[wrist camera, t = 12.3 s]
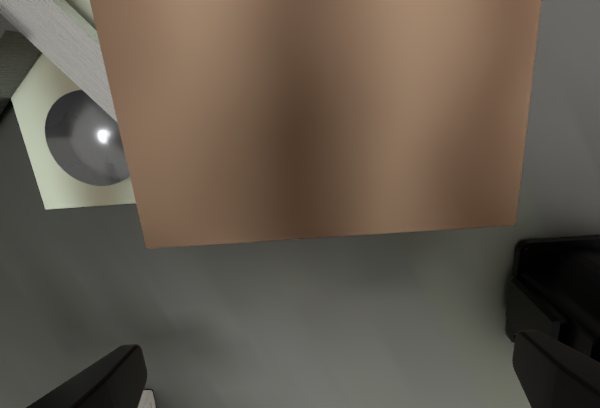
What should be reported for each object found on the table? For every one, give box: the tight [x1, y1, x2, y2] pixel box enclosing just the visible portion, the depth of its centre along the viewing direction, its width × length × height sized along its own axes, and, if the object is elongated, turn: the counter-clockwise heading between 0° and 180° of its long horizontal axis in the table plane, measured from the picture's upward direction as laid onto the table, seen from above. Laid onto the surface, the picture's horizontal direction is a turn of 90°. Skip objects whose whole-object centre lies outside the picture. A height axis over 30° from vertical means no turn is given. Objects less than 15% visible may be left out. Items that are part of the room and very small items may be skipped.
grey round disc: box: [45, 90, 130, 186], centre depth 18 cm, size 4×4×1 cm
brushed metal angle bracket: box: [0, 0, 118, 123], centre depth 17 cm, size 2×11×9 cm
